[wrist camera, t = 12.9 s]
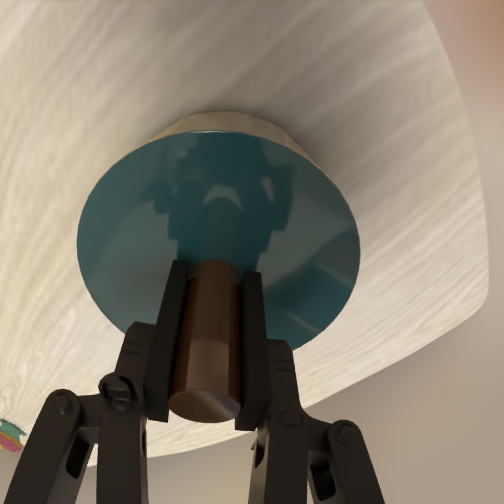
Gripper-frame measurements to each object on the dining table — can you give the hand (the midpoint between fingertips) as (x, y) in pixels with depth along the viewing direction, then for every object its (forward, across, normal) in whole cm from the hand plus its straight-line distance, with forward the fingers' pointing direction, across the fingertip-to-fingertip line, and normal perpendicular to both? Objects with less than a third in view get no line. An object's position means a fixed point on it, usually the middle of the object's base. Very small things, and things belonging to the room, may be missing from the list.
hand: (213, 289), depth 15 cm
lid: (+1, 0, 0) cm, 1 cm away
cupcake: (+9, -46, -67) cm, 82 cm away
